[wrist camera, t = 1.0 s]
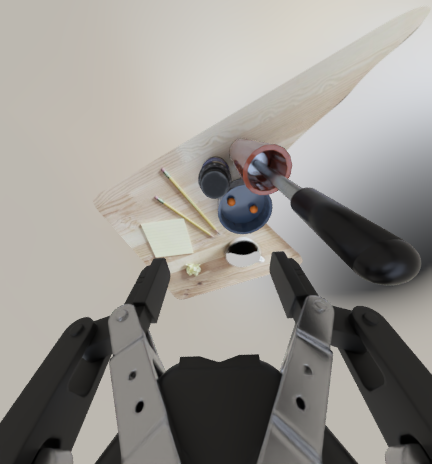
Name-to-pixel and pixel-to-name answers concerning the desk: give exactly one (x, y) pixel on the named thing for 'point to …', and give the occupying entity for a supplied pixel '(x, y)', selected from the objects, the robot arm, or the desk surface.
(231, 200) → the bead
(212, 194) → the pill bottle
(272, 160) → the crock
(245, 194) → the bowl
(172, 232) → the desk surface
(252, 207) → the bead
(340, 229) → the ladle
